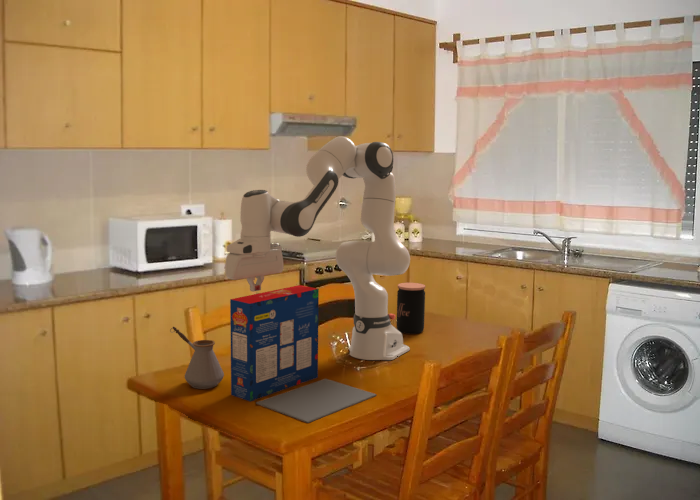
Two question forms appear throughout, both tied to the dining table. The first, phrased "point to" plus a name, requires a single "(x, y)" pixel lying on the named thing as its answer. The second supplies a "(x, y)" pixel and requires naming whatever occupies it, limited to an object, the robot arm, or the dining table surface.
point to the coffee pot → (202, 364)
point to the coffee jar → (410, 308)
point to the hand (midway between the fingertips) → (255, 290)
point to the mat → (316, 400)
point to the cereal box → (273, 341)
